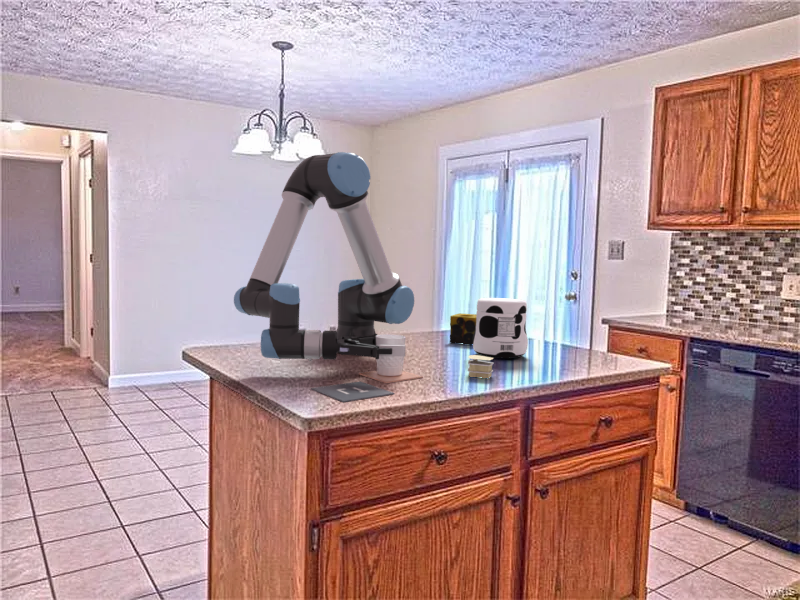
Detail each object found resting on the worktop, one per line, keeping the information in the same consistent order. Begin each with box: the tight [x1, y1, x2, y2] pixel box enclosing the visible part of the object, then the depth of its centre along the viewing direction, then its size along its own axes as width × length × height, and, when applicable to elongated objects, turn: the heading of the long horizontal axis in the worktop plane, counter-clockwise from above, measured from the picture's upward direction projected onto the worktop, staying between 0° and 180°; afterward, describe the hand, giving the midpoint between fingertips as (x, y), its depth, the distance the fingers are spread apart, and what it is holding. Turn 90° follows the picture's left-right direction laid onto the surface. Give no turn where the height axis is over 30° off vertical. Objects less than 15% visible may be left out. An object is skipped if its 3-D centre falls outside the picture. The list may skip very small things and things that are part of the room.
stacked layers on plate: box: [467, 354, 495, 379], centre depth 166 cm, size 10×9×6 cm
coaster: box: [358, 370, 424, 384], centre depth 163 cm, size 12×12×1 cm
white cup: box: [375, 333, 406, 376], centre depth 164 cm, size 8×8×10 cm
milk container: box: [472, 297, 529, 359], centre depth 197 cm, size 17×17×18 cm
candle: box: [449, 313, 477, 345], centre depth 223 cm, size 10×10×10 cm
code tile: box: [311, 380, 395, 403], centre depth 145 cm, size 14×14×1 cm
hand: (403, 346), depth 163 cm, fingers open, 13 cm apart
